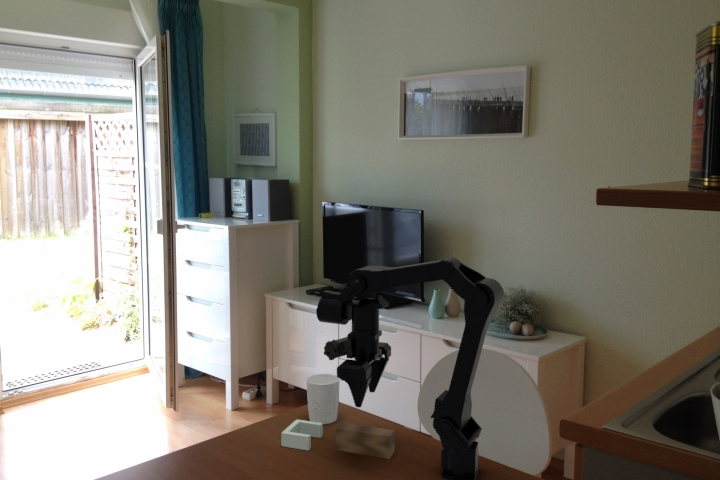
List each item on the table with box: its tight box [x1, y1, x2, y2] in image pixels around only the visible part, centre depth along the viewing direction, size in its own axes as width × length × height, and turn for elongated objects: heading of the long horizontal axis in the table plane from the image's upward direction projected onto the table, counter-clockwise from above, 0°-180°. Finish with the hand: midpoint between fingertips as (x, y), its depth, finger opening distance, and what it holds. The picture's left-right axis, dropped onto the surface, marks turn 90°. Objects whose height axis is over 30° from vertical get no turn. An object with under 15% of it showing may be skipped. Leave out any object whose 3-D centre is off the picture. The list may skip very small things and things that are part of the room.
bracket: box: [280, 419, 324, 451], centre depth 143 cm, size 6×8×3 cm
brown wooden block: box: [335, 422, 396, 460], centre depth 138 cm, size 12×4×5 cm, turn 70°
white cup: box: [305, 373, 341, 425], centre depth 155 cm, size 8×8×10 cm
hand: (365, 399), depth 137 cm, fingers open, 9 cm apart
